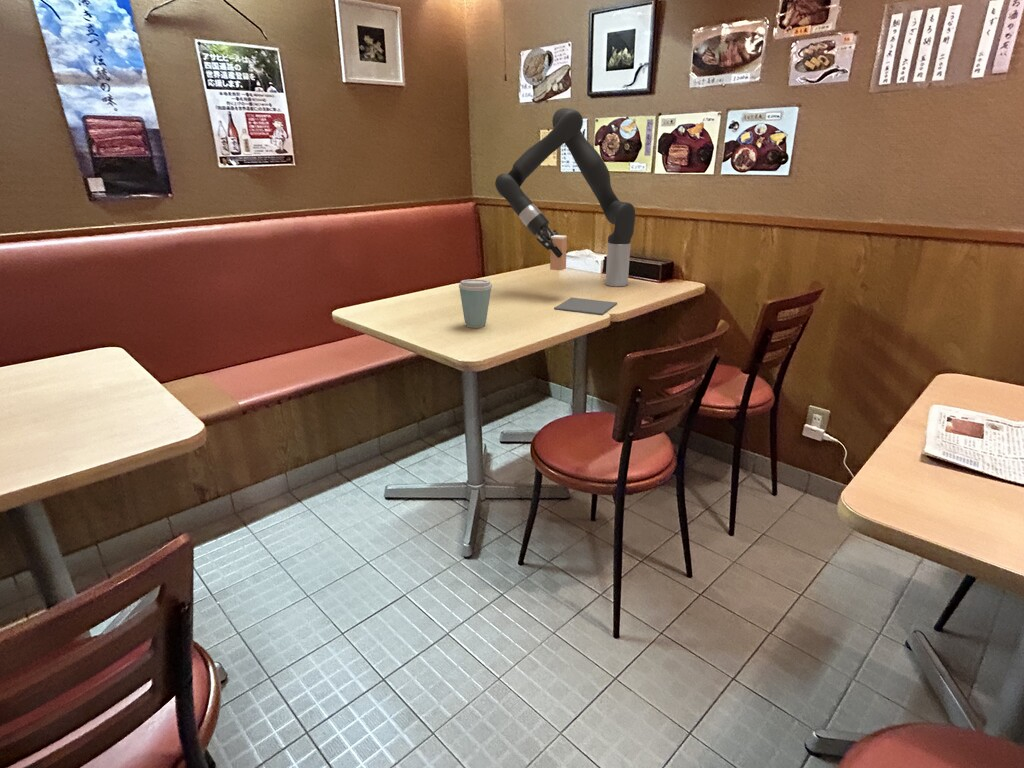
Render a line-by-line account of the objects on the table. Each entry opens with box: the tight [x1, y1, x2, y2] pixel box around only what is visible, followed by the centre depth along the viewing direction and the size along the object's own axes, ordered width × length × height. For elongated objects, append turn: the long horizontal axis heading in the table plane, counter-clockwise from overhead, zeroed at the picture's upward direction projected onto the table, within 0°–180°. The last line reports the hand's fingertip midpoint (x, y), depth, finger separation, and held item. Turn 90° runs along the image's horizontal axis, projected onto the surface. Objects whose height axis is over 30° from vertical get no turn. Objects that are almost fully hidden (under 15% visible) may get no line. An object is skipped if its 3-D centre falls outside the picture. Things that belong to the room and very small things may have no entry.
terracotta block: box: [549, 234, 568, 272], centre depth 217 cm, size 4×4×12 cm
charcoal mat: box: [553, 297, 618, 316], centre depth 213 cm, size 17×18×1 cm
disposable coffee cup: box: [458, 278, 493, 329], centre depth 189 cm, size 11×11×15 cm
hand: (563, 254), depth 216 cm, fingers closed on terracotta block, 4 cm apart
